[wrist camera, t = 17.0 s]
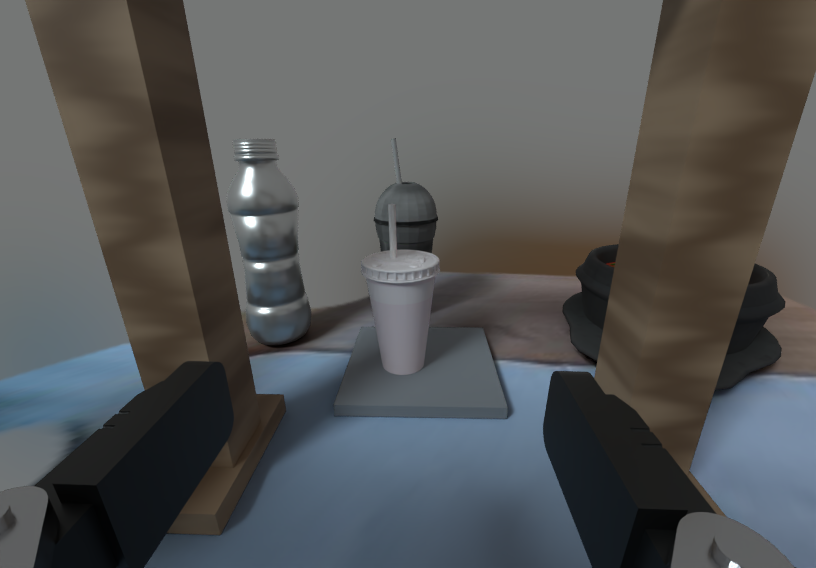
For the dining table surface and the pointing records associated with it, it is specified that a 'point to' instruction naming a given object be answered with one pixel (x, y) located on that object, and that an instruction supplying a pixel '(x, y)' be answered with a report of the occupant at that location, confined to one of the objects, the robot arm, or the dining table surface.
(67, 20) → the archway
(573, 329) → the casserole
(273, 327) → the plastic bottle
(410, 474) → the dining table surface
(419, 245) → the beverage cup
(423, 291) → the smoothie
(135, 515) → the robot arm
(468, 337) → the mat
